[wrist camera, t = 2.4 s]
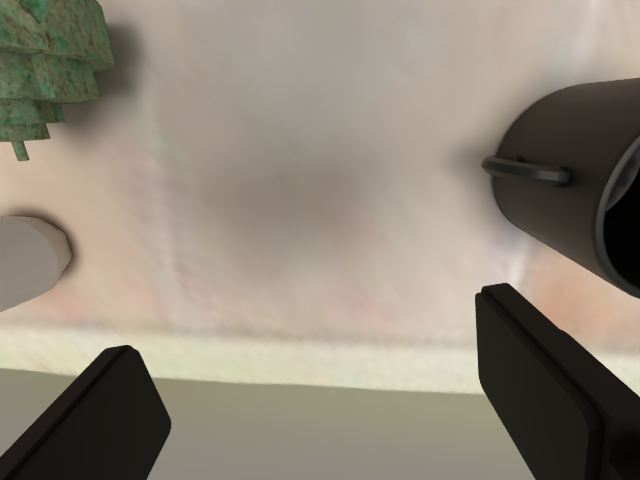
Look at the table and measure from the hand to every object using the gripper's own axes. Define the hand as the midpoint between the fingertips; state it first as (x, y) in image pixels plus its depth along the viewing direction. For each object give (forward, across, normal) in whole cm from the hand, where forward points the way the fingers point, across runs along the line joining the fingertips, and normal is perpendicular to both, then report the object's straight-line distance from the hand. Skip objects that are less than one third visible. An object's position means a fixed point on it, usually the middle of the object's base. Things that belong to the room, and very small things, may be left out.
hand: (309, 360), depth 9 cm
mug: (+14, -15, -1) cm, 21 cm away
